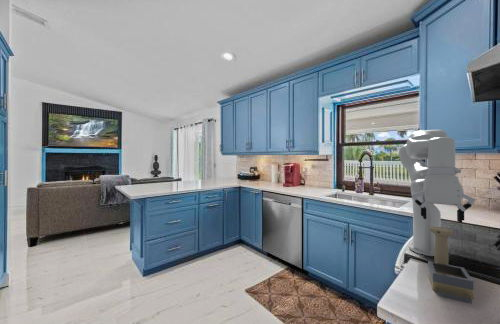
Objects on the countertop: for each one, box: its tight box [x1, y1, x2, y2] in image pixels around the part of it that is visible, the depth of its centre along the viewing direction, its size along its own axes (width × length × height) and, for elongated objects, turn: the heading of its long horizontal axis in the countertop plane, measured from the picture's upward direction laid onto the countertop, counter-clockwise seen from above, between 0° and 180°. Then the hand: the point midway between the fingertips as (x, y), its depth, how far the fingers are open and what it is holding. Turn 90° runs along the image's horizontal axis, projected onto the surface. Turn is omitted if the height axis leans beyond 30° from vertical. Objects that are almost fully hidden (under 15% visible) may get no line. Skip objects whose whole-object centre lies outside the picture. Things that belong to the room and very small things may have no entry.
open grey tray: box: [427, 260, 475, 304], centre depth 70 cm, size 16×9×5 cm, turn 148°
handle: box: [430, 227, 454, 265], centre depth 80 cm, size 5×6×15 cm
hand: (441, 220), depth 80 cm, fingers open, 9 cm apart
